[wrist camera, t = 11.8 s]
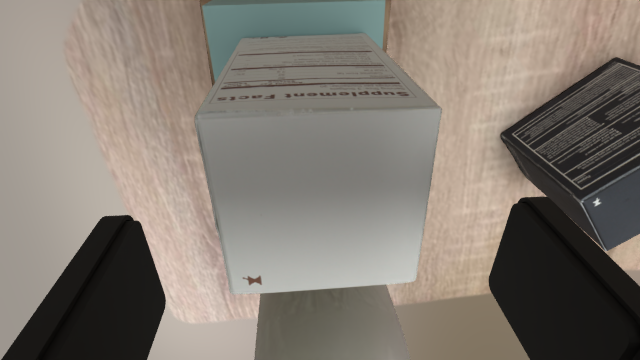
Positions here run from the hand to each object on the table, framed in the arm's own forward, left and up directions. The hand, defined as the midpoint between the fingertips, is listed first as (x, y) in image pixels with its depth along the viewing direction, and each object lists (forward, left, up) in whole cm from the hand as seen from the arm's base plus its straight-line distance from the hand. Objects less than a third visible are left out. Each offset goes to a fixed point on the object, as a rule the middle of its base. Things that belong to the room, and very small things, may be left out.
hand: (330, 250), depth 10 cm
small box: (+6, +23, -22) cm, 32 cm away
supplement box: (+1, 0, -15) cm, 15 cm away
